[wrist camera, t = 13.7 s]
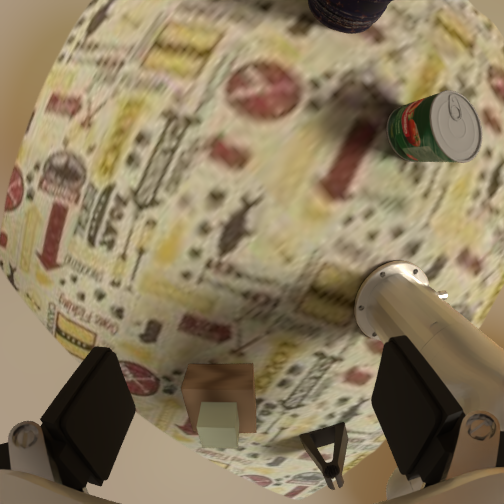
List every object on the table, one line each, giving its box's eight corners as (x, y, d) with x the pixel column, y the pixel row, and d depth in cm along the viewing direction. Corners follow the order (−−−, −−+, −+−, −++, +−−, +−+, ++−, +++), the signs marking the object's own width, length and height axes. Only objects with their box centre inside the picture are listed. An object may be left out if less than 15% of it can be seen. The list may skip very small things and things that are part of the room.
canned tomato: (435, 161, 33) (485, 164, 23) (389, 162, 34) (436, 162, 23) (428, 107, 31) (476, 95, 21) (382, 104, 32) (424, 85, 21)
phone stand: (305, 449, 49) (312, 495, 37) (299, 434, 47) (306, 483, 36) (347, 437, 48) (360, 481, 36) (344, 421, 46) (358, 469, 35)
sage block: (236, 402, 37) (234, 427, 32) (239, 423, 38) (237, 448, 33) (201, 401, 37) (196, 426, 32) (206, 423, 38) (202, 447, 34)
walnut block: (253, 363, 42) (253, 389, 36) (256, 407, 45) (256, 432, 39) (188, 363, 42) (181, 388, 36) (198, 406, 45) (193, 431, 39)
